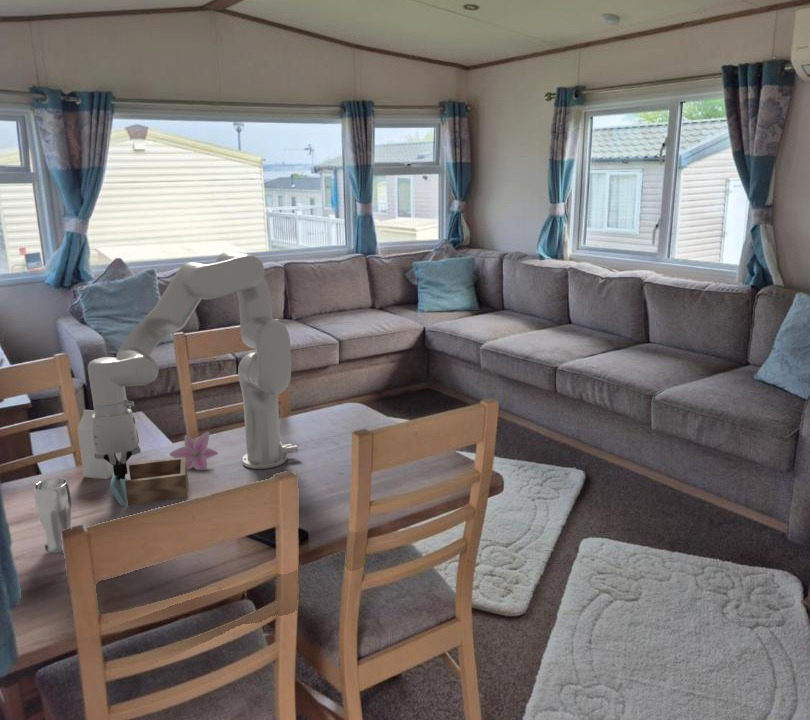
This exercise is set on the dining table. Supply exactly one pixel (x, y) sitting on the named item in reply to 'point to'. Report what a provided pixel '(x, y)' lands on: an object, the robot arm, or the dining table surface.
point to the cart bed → (157, 481)
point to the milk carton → (92, 450)
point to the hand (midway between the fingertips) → (121, 477)
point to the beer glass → (53, 510)
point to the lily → (195, 452)
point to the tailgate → (119, 490)
